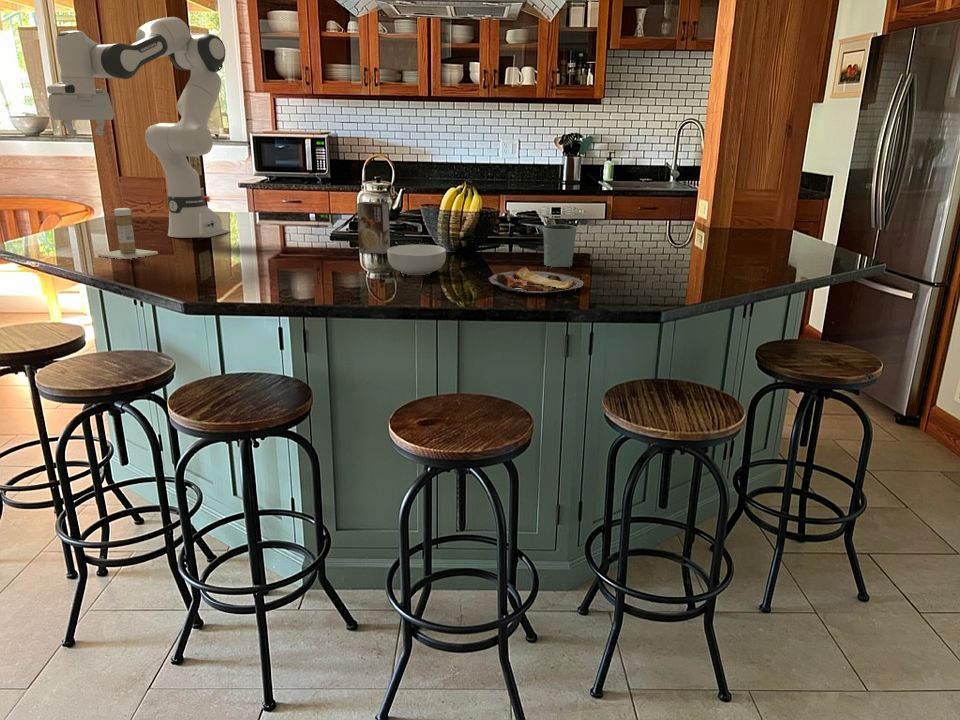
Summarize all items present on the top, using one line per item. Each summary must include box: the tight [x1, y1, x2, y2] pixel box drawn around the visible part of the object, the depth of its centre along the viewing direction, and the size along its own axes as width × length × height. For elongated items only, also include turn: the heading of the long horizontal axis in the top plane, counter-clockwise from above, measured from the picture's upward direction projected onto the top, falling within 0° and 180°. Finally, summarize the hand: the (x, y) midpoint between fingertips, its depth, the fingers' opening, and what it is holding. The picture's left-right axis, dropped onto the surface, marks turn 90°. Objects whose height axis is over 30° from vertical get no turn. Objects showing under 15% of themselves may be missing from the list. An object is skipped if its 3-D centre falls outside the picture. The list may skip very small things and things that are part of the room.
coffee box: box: [356, 201, 391, 255], centre depth 236 cm, size 9×6×16 cm
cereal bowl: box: [386, 244, 447, 276], centre depth 205 cm, size 17×17×7 cm
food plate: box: [487, 266, 585, 295], centre depth 192 cm, size 25×23×4 cm
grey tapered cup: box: [542, 223, 578, 268], centre depth 220 cm, size 10×10×12 cm
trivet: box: [97, 248, 159, 260], centre depth 223 cm, size 12×12×1 cm
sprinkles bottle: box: [113, 207, 137, 253], centre depth 221 cm, size 5×5×13 cm
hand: (86, 135), depth 224 cm, fingers open, 8 cm apart
